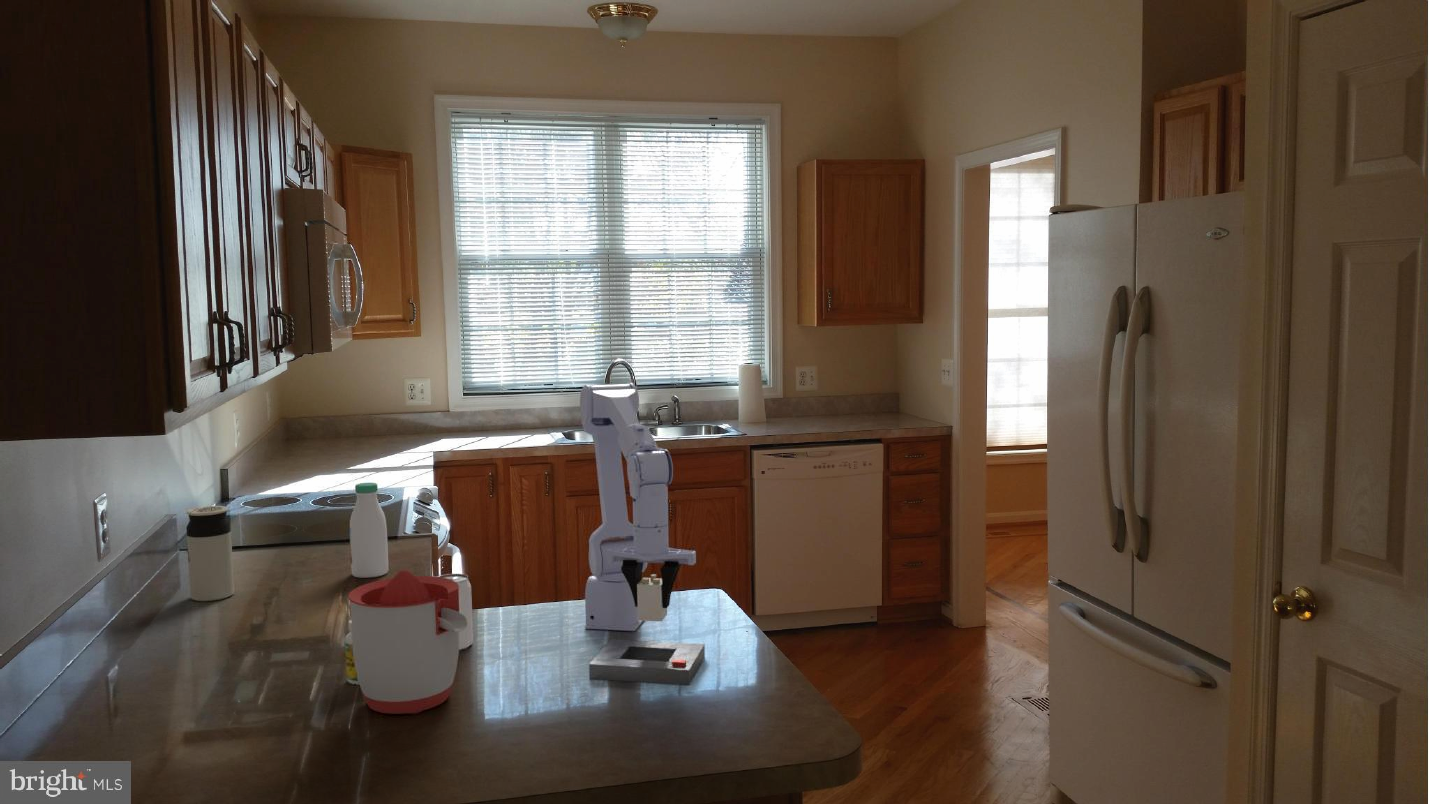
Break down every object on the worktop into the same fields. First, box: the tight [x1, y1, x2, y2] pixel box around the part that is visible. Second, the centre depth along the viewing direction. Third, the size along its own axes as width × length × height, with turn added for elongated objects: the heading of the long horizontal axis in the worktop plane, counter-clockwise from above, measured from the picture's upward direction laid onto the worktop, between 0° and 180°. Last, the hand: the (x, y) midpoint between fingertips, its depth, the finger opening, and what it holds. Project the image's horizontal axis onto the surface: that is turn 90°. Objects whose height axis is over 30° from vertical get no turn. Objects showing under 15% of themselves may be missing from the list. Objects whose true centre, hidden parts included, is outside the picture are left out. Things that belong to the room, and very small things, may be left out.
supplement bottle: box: [344, 619, 360, 686], centre depth 160 cm, size 5×5×10 cm
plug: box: [637, 573, 668, 622], centre depth 168 cm, size 4×4×7 cm
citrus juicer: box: [348, 569, 467, 715], centre depth 151 cm, size 16×17×20 cm
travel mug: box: [185, 505, 235, 602], centre depth 207 cm, size 8×8×18 cm
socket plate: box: [588, 638, 706, 686], centre depth 164 cm, size 16×12×3 cm
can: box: [437, 573, 474, 651], centre depth 176 cm, size 6×6×12 cm
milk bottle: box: [349, 482, 389, 579], centre depth 223 cm, size 8×8×20 cm
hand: (652, 605), depth 168 cm, fingers closed on plug, 4 cm apart
